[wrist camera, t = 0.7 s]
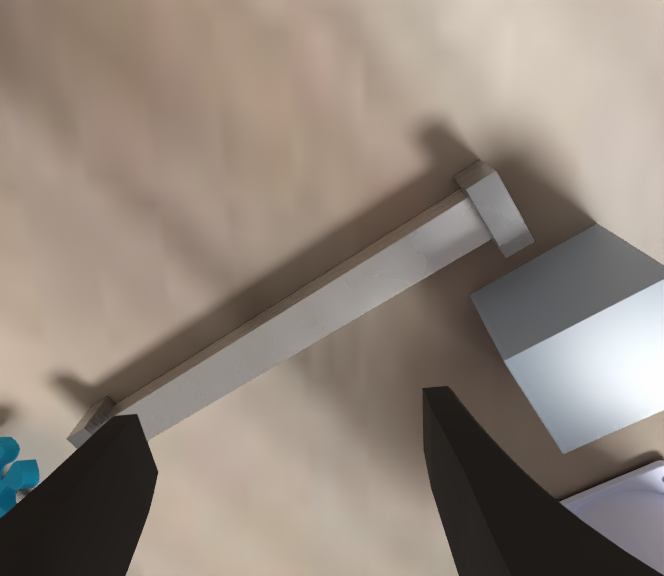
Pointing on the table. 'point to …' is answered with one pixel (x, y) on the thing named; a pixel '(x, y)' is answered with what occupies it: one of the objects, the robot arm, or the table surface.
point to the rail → (327, 303)
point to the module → (582, 334)
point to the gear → (14, 474)
